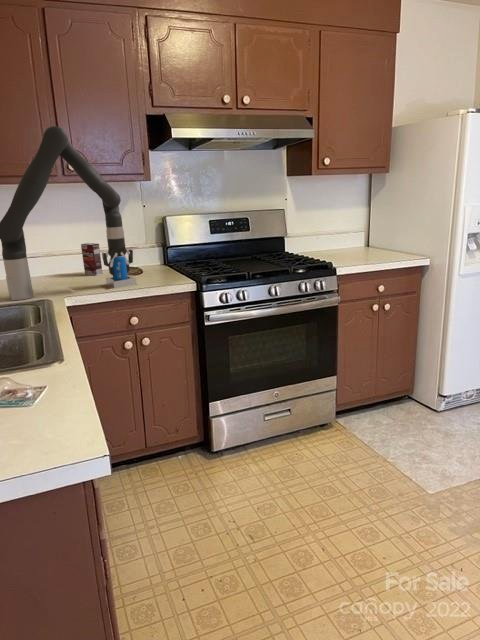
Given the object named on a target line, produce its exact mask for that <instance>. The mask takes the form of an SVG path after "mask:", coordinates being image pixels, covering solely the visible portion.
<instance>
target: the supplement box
mask: <svg viewBox="0 0 480 640" xmlns="http://www.w3.org/2000/svg"><path fill="white" fill-rule="evenodd" d="M80 248H81V254H82V262H83V269H84V275H88V276H89V275H90V276H100V275H102V274H103V267H102V260H101V259H102V258H101V257H102V256H101V249H100V243H91V242H86V243H81V244H80Z"/></svg>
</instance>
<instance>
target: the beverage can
mask: <svg viewBox="0 0 480 640" xmlns="http://www.w3.org/2000/svg"><path fill="white" fill-rule="evenodd" d="M125 257H126V256H125ZM125 257H124V256H119V257H114V262H113V266H112V267H113V271H114V275H112V277H113V280H115V281H117V280H123V279H128V277H127V275H128V273H127V268H126V260H125ZM112 259H113V258H111V260H112Z"/></svg>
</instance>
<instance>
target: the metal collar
mask: <svg viewBox="0 0 480 640" xmlns="http://www.w3.org/2000/svg"><path fill="white" fill-rule="evenodd" d="M127 277H128V279H123V280H117V281H115V280H113V276H110V277H106V278H105V283H106V284H105V285H109V286H111V287H113V289H117V288H119V289H120V288H123V287H124V288H125V287H130V286H135V285H138V283H137V278H136V277H135V276H132V275H129V274H127Z"/></svg>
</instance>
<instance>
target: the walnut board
mask: <svg viewBox="0 0 480 640" xmlns="http://www.w3.org/2000/svg"><path fill="white" fill-rule="evenodd" d="M99 287H100V288H102V289H104V290H107V291H108V290H113V289H114V288H113V287H111V286H109V285H107V284H102V285H99Z"/></svg>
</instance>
